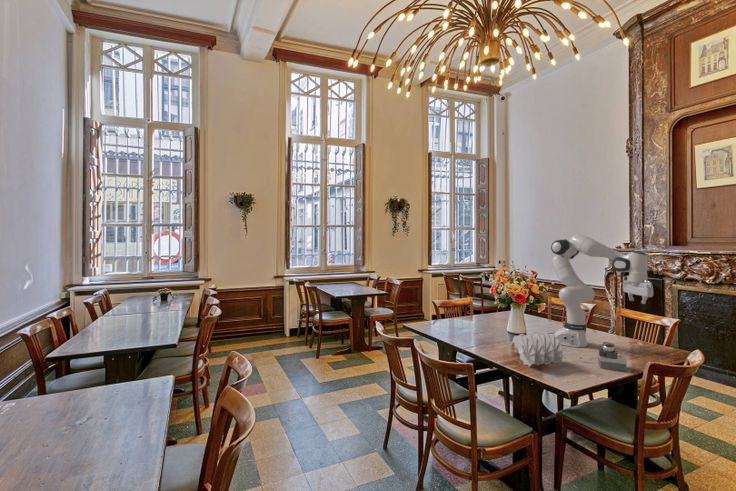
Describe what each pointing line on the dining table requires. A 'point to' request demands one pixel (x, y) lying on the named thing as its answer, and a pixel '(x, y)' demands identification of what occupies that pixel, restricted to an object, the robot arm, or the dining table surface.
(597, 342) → the dining table surface
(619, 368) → the grey stacked block
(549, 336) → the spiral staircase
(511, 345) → the teacup with lid
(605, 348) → the lens
